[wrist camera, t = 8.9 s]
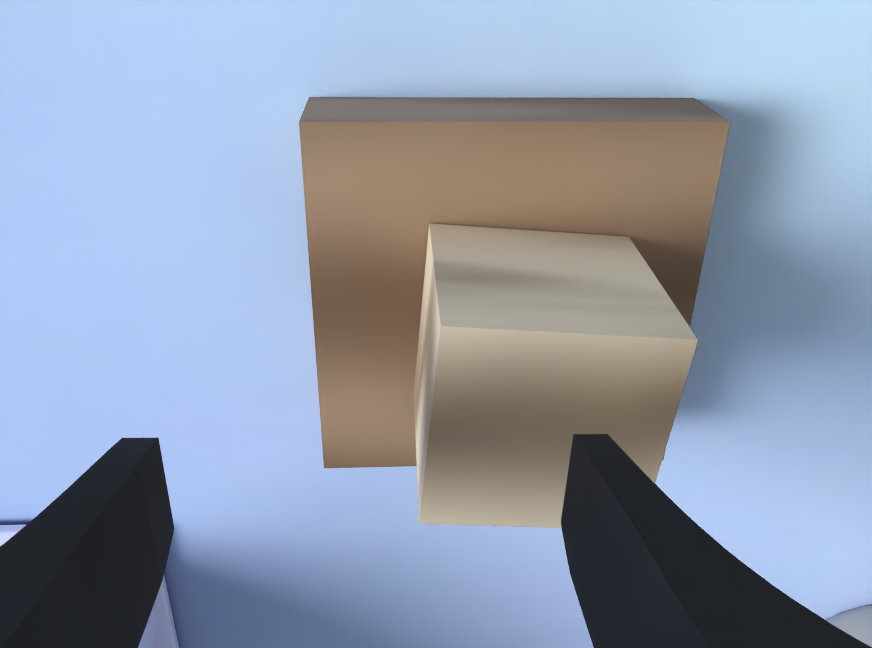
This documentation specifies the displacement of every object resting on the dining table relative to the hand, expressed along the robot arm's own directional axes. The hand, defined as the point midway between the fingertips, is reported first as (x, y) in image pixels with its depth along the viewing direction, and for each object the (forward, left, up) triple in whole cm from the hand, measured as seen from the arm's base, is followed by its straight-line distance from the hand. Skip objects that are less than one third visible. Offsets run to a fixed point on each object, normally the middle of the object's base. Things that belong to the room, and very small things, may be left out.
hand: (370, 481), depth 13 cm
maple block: (-1, -4, -7) cm, 8 cm away
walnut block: (0, -3, -10) cm, 11 cm away
